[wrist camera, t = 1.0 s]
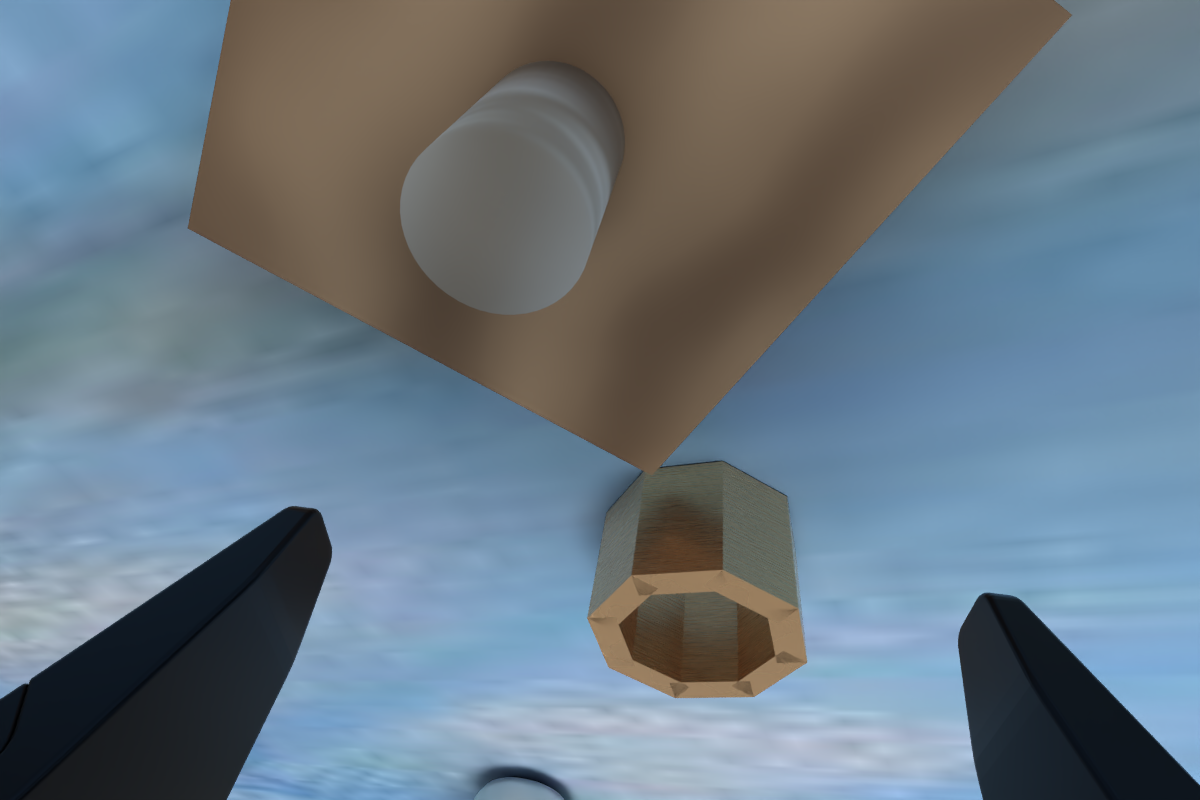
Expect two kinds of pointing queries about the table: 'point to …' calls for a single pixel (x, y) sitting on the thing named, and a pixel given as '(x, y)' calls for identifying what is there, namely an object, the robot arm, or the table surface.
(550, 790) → the plastic bottle
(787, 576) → the brown octagonal cup
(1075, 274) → the table surface
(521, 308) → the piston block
